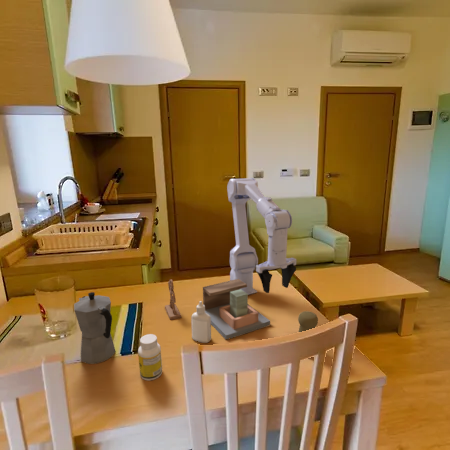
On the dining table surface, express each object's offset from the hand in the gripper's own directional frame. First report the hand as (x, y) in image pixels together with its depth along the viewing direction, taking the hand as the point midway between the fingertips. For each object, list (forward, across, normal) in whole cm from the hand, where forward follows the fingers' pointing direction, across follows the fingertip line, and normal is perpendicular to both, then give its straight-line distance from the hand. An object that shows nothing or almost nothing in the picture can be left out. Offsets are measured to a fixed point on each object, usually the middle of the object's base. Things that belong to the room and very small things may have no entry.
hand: (275, 289), depth 99 cm
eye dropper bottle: (+10, -26, +1) cm, 28 cm away
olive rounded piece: (+10, -3, -18) cm, 21 cm away
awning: (+9, -12, +12) cm, 19 cm away
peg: (+9, -12, +3) cm, 15 cm away
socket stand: (+10, -12, +6) cm, 17 cm away
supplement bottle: (+10, -43, -6) cm, 45 cm away
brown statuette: (+11, -28, +20) cm, 36 cm away
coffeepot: (+10, -53, +8) cm, 55 cm away
